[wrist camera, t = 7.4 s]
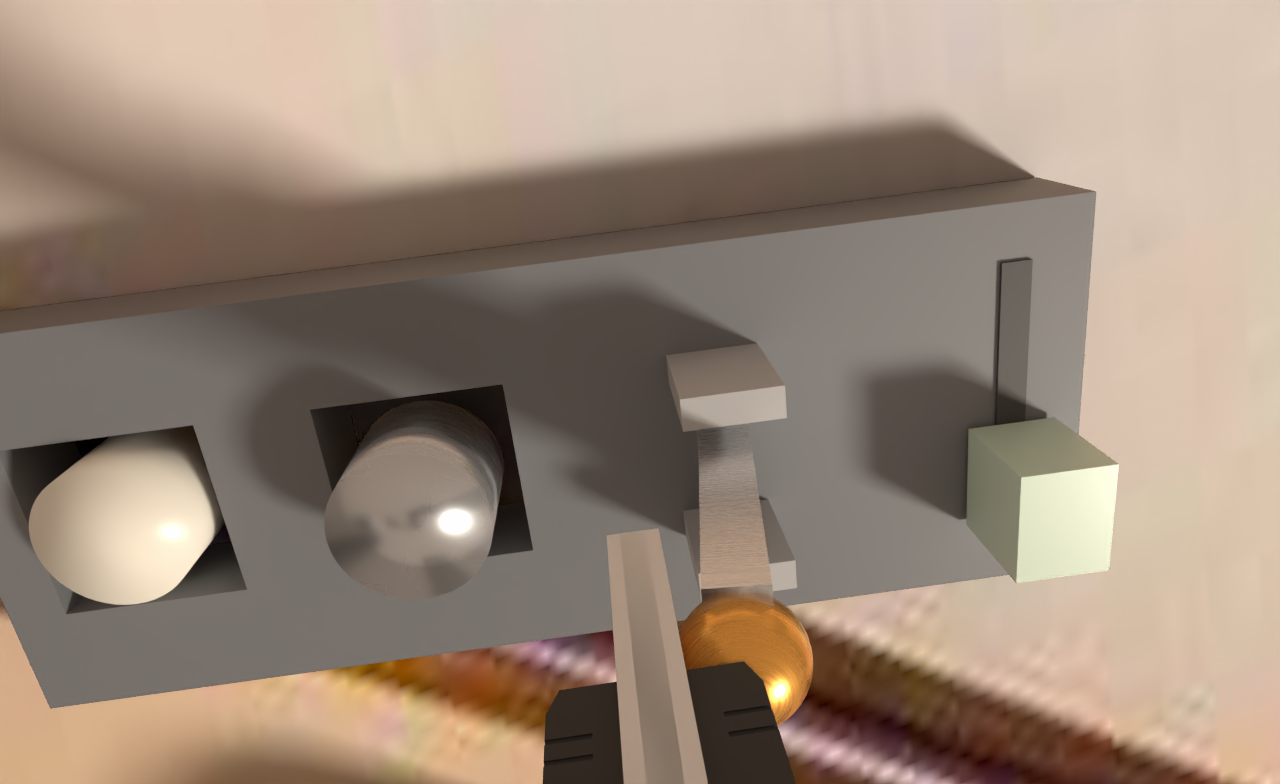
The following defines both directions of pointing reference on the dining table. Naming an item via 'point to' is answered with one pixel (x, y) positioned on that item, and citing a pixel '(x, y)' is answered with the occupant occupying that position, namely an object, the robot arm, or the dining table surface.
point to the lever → (741, 579)
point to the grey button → (417, 502)
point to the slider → (1041, 499)
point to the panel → (555, 420)
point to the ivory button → (128, 517)
